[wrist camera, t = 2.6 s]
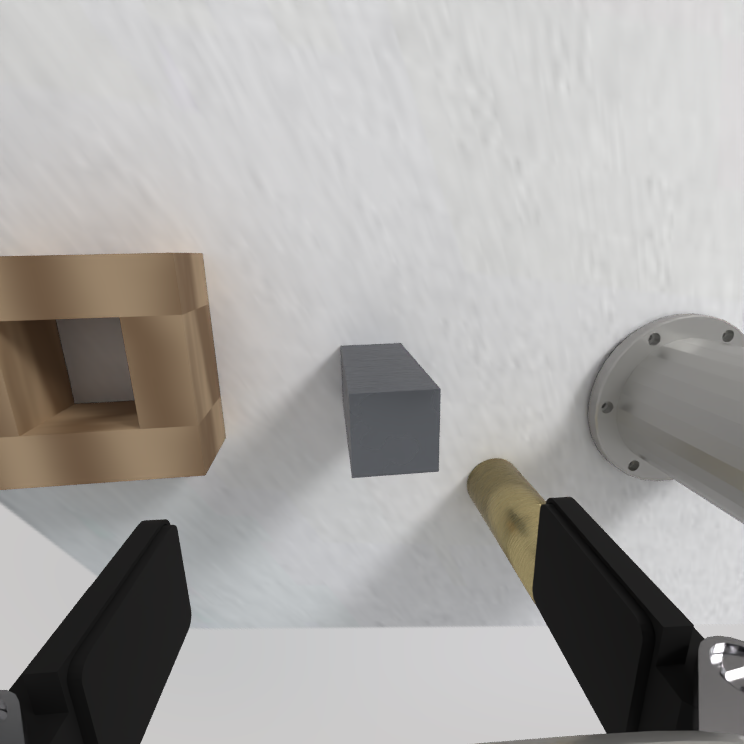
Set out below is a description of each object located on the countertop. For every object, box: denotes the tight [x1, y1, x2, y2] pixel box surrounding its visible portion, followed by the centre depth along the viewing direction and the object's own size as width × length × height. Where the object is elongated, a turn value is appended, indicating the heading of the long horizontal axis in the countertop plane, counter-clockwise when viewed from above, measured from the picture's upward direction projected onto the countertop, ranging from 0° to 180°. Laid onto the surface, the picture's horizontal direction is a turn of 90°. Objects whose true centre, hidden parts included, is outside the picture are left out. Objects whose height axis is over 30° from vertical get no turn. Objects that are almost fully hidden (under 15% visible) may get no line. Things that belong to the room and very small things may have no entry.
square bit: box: [341, 343, 440, 478], centre depth 23 cm, size 4×4×10 cm
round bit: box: [467, 458, 546, 603], centre depth 27 cm, size 4×4×10 cm
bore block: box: [0, 253, 226, 490], centre depth 24 cm, size 12×12×5 cm
